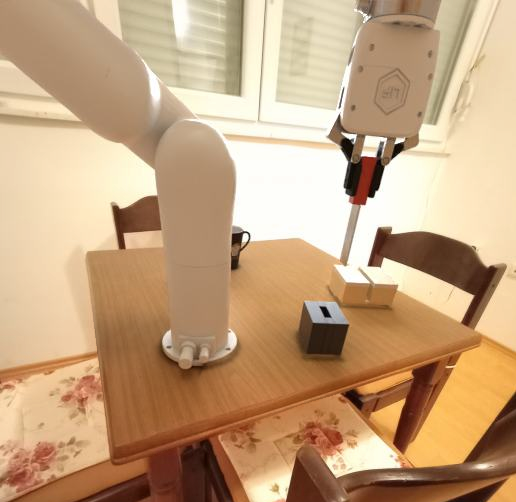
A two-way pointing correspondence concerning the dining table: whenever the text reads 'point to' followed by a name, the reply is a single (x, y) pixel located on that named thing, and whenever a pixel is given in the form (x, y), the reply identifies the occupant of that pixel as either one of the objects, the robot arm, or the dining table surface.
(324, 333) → the knife block
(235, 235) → the coffee mug
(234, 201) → the robot arm
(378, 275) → the beige rectangular box
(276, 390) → the dining table surface
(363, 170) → the knife
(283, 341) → the dining table surface
